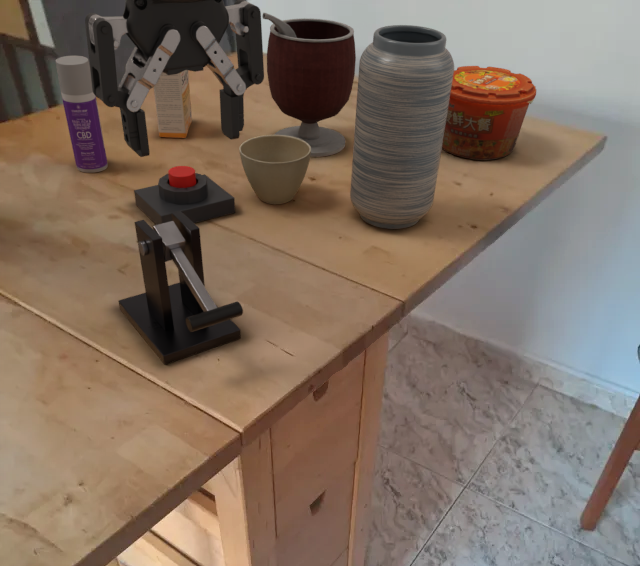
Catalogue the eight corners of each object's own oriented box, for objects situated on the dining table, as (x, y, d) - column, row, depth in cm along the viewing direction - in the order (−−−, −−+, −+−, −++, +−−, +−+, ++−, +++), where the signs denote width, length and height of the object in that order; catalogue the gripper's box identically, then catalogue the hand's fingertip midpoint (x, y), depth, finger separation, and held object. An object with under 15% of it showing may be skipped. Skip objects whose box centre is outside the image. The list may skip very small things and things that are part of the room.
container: (83, 175, 103) (61, 67, 93) (71, 164, 106) (49, 58, 96) (113, 168, 105) (94, 62, 95) (100, 158, 108) (81, 53, 98)
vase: (344, 230, 94) (357, 43, 78) (353, 193, 102) (366, 18, 86) (429, 238, 93) (459, 51, 77) (431, 201, 101) (458, 25, 85)
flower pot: (259, 177, 105) (257, 129, 100) (319, 190, 102) (321, 141, 98) (229, 204, 98) (226, 153, 93) (293, 218, 96) (294, 167, 91)
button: (176, 191, 92) (175, 178, 91) (165, 181, 94) (163, 168, 93) (200, 185, 94) (199, 173, 92) (189, 176, 96) (187, 163, 95)
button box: (163, 231, 91) (159, 202, 89) (135, 205, 97) (131, 177, 94) (235, 212, 96) (234, 185, 93) (205, 188, 101) (203, 161, 99)
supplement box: (187, 139, 115) (179, 53, 106) (158, 137, 115) (148, 52, 106) (193, 121, 121) (186, 38, 112) (166, 120, 121) (157, 37, 112)
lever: (241, 321, 68) (244, 306, 66) (191, 338, 66) (193, 323, 64) (186, 233, 72) (188, 216, 70) (137, 246, 70) (137, 229, 67)
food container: (438, 123, 125) (448, 59, 117) (527, 137, 121) (543, 72, 114) (418, 155, 114) (428, 85, 106) (515, 171, 110) (532, 101, 103)
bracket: (241, 338, 75) (236, 239, 66) (164, 365, 71) (149, 263, 63) (191, 287, 82) (181, 192, 74) (119, 309, 78) (100, 211, 70)
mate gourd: (319, 122, 123) (324, -7, 109) (366, 149, 115) (377, 12, 101) (244, 138, 116) (239, 2, 103) (288, 167, 108) (289, 24, 94)
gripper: (232, -94, 54) (238, 118, 65) (51, -90, 48) (92, 143, 59) (280, -79, 50) (278, 146, 61) (88, -72, 44) (125, 176, 55)
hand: (186, 144), depth 60 cm, fingers open, 8 cm apart
